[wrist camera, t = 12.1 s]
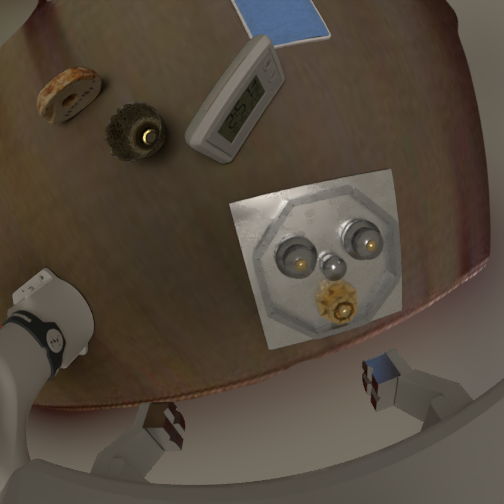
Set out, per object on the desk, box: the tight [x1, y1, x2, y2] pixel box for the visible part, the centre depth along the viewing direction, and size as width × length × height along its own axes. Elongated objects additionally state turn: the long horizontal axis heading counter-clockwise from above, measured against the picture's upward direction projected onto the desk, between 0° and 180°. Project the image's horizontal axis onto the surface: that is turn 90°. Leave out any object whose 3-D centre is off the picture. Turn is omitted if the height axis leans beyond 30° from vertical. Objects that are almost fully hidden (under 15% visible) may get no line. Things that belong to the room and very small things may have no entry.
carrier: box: [229, 169, 402, 350], centre depth 39 cm, size 25×25×6 cm
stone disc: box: [37, 67, 102, 124], centre depth 28 cm, size 10×4×10 cm, turn 118°
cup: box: [105, 102, 166, 162], centre depth 31 cm, size 8×7×8 cm
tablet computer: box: [231, 0, 331, 49], centre depth 29 cm, size 19×13×1 cm, turn 20°
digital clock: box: [185, 34, 285, 163], centre depth 30 cm, size 16×9×11 cm, turn 137°
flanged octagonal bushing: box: [316, 279, 358, 325], centre depth 41 cm, size 6×6×4 cm
